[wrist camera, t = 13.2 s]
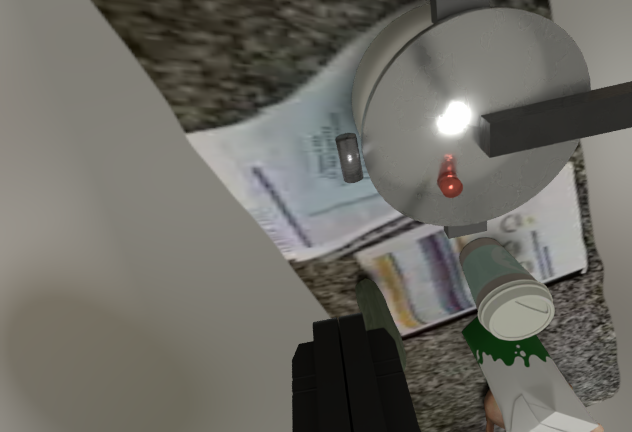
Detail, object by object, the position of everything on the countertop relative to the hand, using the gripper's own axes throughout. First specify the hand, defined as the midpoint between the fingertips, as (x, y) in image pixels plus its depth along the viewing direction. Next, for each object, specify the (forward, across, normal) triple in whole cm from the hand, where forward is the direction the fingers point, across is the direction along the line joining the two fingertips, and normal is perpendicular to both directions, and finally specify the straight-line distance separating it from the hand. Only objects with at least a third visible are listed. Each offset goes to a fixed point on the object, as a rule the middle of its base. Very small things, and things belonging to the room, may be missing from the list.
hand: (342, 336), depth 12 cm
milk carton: (+35, -20, +45) cm, 61 cm away
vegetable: (+35, -2, +30) cm, 46 cm away
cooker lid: (+25, -14, +6) cm, 29 cm away
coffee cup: (+35, -18, +30) cm, 50 cm away
